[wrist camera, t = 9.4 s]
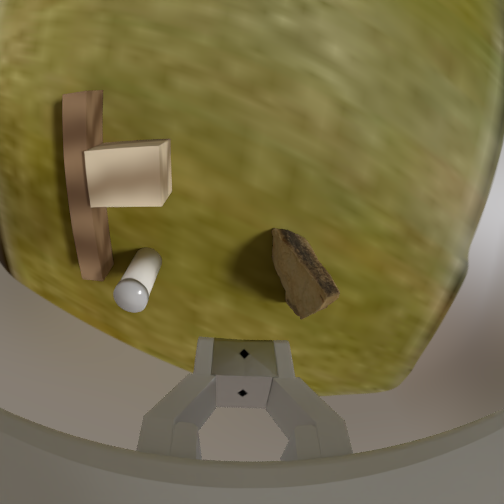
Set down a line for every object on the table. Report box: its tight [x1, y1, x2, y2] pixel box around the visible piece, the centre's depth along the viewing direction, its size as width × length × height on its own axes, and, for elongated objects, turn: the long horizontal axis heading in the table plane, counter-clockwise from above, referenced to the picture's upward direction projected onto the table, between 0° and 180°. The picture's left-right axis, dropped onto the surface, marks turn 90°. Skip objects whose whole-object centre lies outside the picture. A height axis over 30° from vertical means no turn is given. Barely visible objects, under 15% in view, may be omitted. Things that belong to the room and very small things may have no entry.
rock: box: [272, 228, 340, 319], centre depth 36 cm, size 11×9×10 cm
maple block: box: [84, 139, 172, 207], centre depth 29 cm, size 6×8×5 cm
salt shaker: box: [114, 248, 162, 312], centre depth 33 cm, size 4×4×8 cm
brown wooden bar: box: [62, 90, 114, 281], centre depth 30 cm, size 22×3×4 cm, turn 175°
